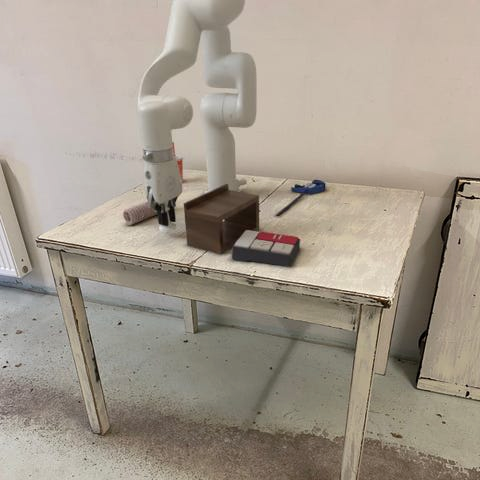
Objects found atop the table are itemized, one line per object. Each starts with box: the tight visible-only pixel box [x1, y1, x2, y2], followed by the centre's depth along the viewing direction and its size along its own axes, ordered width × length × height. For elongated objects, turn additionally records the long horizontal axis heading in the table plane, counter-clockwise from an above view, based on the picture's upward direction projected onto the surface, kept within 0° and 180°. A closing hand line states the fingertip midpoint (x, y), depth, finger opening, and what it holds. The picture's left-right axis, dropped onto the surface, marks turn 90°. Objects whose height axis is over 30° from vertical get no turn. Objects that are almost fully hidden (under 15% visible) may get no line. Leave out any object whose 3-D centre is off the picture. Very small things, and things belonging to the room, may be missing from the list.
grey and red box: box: [231, 230, 301, 267], centre depth 122 cm, size 11×4×15 cm
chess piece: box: [158, 201, 178, 233], centre depth 131 cm, size 5×5×10 cm
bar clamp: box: [275, 179, 327, 217], centre depth 158 cm, size 32×2×10 cm
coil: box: [122, 201, 160, 226], centre depth 147 cm, size 5×5×18 cm
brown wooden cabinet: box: [183, 184, 260, 255], centre depth 130 cm, size 19×11×12 cm, turn 147°
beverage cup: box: [172, 141, 184, 183], centre depth 174 cm, size 6×6×14 cm
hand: (167, 222), depth 133 cm, fingers closed on chess piece
